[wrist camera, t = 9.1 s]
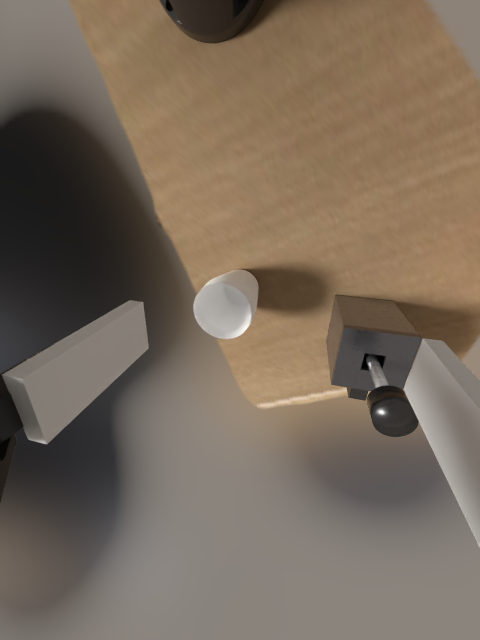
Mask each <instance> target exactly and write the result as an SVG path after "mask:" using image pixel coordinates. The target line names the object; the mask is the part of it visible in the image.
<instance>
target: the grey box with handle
mask: <svg viewBox="0 0 480 640" xmlns="http://www.w3.org/2000/svg"><path fill="white" fill-rule="evenodd" d="M421 339H422V337H421V336H420V335H419V333H418V332H417V331H416V330H415V328H414V327H413V326H412V325H411V323H410V322H409V321H408V320H407V318H406V317H405V316H404V314H403V313H402V312H401V311H400V309H399V308H398V307H397V306H396V304H395V303H394V302H393V301H389V300H380V299H370V298H361V297H352V296H342V295H335V300H334V305H333V310H332V315H331V320H330V325H329V330H328V335H327V340H326V342H327V351H328V360H329V369H330V378H331V385H337V386H342V387H347V392H348V397H349V398H354V399H360V400H366V397H367V393H368V391H372V390H374V389H375V385H374V382H373V379H372V376H371V373H370V370H369V367H368V365H367V362H366V359H365V356H364V354H365V353H368V354H375V355H376V356H377V359H378V361H379V364H380V366H381V368H382V371H383V373H384V376H385V378H386V380H387V383H388V385H391V386H396V387H398V388H401V389H402V390H403V388H404V385H405V383H406V380H407V377H408V374H409V372H410V369H411V366H412V363H413V361H414V358H415V355H416V353H417V350H418V347H419V344H420V342H421Z"/></svg>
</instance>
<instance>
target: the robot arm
mask: <svg viewBox="0 0 480 640" xmlns="http://www.w3.org/2000/svg"><path fill="white" fill-rule="evenodd" d="M262 1H263V0H160V2H161V4H162V6H163V8H164V9H165V11H166V12H167V14H168V15H169V16H170V18H171V19H172V20H173V21H174V23H175V24H176V25H177V26H178V27H179V29H180V30H181V31H183V32H184V33H185V34H186V35H188V36H189V37H191V38H193V39H195V40H197V41H200V42H205V43H216V42H221V41H224V40H227V39H229V38H231V37H233V36H234V35H236V34H237V33H238V32H240V31H241V30H242V29H243V28H244V27H245V26H246V25H247V24H248V23H249V22H250V21H251V19H252V18H253V17H254V15H255V14H256V12H257V10H258V9H259V7H260V5H261V3H262ZM148 348H149V347H148V340H147V331H146V323H145V315H144V307H143V302H137V301H128V302H126V303H125V304H123V305H121V306H119V307H118V308H116V309H114V310H113V311H111V312H109V313H107V314H106V315H104V316H102V317H100V318H99V319H97V320H95V321H94V322H92V323H90V324H88V325H87V326H85V327H83V328H81V329H80V330H79V331H76V332H75V333H73V334H72V335H70V336H68V337H66V338H64V339H62V340H61V341H59V342H57V343H56V344H53V345H50V346H48V347H46V348H45V349H43V350H41V351H40V352H38V354H34V355H33V356H31V357H29V358H28V360H27V359H26V360H24V361H22V362H20V363H19V364H17V365H15V366H13V367H12V368H10V369H8V370H7V371H5V372H3V373H1V374H0V502H1V498H2V495H3V491H4V487H5V484H6V480H7V476H8V472H9V469H10V465H11V462H12V458H13V454H14V450H15V447H16V443H17V441H16V436H15V433H16V432H17V431H18V430H20V429H21V428H22V427H24V430H25V433H26V435H27V437H28V439H29V440H32V441H36V442H40V443H44V444H48V442H50V441H51V440H52V439H53V438H54V437H55V436H56V435H57V434H58V433H59V432H60V431H61V430H62V429H63V428H64V427H65V426H66V425H68V424H69V423H70V422H71V421H72V420H73V419H74V418H75V417H76V416H77V415H78V414H79V413H80V412H81V411H82V410H84V409H85V408H86V407H87V406H88V405H89V404H90V403H91V402H92V401H93V400H94V399H95V398H96V397H97V396H98V395H99V394H101V393H102V392H103V391H104V390H105V389H106V388H107V387H108V386H109V385H110V384H111V383H112V382H113V381H114V380H115V379H116V378H117V377H119V376H120V375H121V373H123V372H124V371H125V370H126V369H127V368H128V367H129V366H130V365H131V364H132V363H133V362H134V361H135V360H137V359H138V358H139V357H140V356H141V355H142V354H143V353H144V352H145V351H146V350H147V349H148ZM404 392H405V394H406V396H407V398H408V400H409V402H410V404H411V406H412V408H413V410H414V412H415V414H416V416H417V418H418V420H419V423H420V424H421V427H422V429H423V431H424V433H425V435H426V437H427V439H428V441H429V443H430V445H431V447H432V449H433V452H434V453H435V456H436V458H437V460H438V462H439V464H440V466H441V468H442V470H443V472H444V474H445V476H446V478H447V481H448V482H449V485H450V487H451V489H452V491H453V493H454V495H455V497H456V499H457V501H458V503H459V505H460V507H461V510H462V512H463V513H464V516H465V518H466V520H467V522H468V524H469V526H470V528H471V530H472V532H473V534H474V536H475V538H476V541H477V543H478V545H479V547H480V381H479V380H478V378H477V377H476V376H475V375H474V374H473V373H472V372H471V371H470V370H469V369H468V368H467V367H466V365H465V364H464V363H463V362H462V361H461V360H460V359H459V358H458V357H457V356H456V354H455V353H454V352H453V351H452V350H451V349H450V348H449V347H448V346H447V345H446V344H445V343H444V341H441V340H433V339H425V338H423V339H422V342H421V344H420V347H419V350H418V353H417V355H416V358H415V361H414V363H413V366H412V369H411V372H410V374H409V377H408V380H407V382H406V385H405V388H404Z"/></svg>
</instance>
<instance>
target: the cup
mask: <svg viewBox="0 0 480 640" xmlns="http://www.w3.org/2000/svg"><path fill="white" fill-rule="evenodd" d="M258 290H259V287H258V282H257V280H256V278H255V277H254V276H253V275H252V274H251V273H250V272H248V271H245V270H234V271H231V272H229V273H226V274H223V275H221V276H218V277H216V278H213V279H212V280H210V281H209V282H207V283H206V284H205V286H204V287H203V288H202V289H201V290H200V291H199V292H198V294H197V295H196V297H195V300H194V306H193V308H194V315H195V318H196V320H197V322H198V324H199V325H200V326H201V328H202V329H203V330H204V331H205V332H207V333H208V334H210V335H212V336H214V337H217V338H220V339H232V338H235V337H238V336H240V335H241V334H243V333H244V332H245V331H246V329H247V328H248V326H249V325H250V323H251V322H252V320H253V319H254V317H255V314H256V309H257V300H258Z"/></svg>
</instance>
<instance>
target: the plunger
mask: <svg viewBox="0 0 480 640" xmlns="http://www.w3.org/2000/svg"><path fill="white" fill-rule="evenodd" d="M364 356H365V359H366V362H367V365H368V367H369V370H370V373H371V376H372V379H373V382H374V385H375V389H374V390H372V391H371V392H370V393H369V395H368V397H367V404H368V408H369V411H370V415H371V418H372V422H373V425H374V427H375V428H376V430H378V431H379V432H380V433H382V434H384V435H387V436H391V437H400V436H405V435H408V434H410V433H412V432H413V431H414V430H415V429H416V428H417V426H418V422H419V420H418V418H417V416H416V414H415V412H414V410H413V408H412V406H411V404H410V402H409V400H408V398H407V396H406V394H405V392H404V391H403V390H402V389H401V388H398V387H396V386H391V385H388V383H387V380H386V378H385V376H384V373H383V371H382V368H381V366H380V364H379V361H378V359H377V356H376V355H375V354H368V353H365V354H364Z"/></svg>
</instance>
